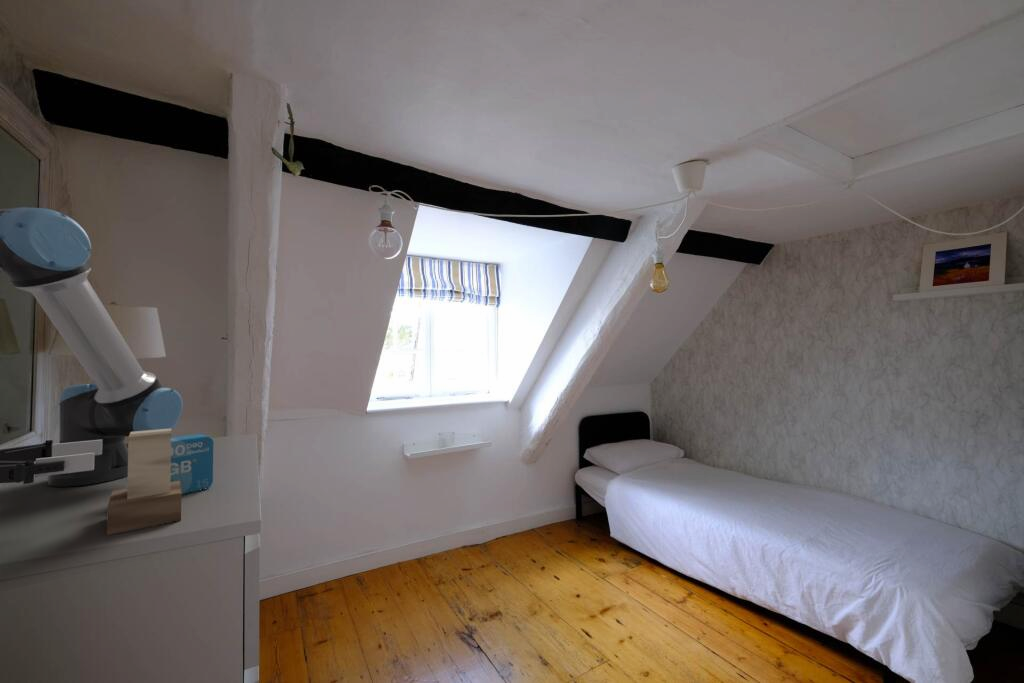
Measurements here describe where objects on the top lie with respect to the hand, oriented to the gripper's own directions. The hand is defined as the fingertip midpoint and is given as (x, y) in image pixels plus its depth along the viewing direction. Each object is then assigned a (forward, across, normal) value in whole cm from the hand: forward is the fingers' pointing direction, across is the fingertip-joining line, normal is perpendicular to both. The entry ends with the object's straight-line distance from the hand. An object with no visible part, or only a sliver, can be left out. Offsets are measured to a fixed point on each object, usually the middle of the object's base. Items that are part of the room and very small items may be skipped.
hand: (98, 453), depth 77 cm
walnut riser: (+7, 0, -13) cm, 15 cm away
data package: (+12, -15, -13) cm, 23 cm away
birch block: (+7, 0, -8) cm, 11 cm away
